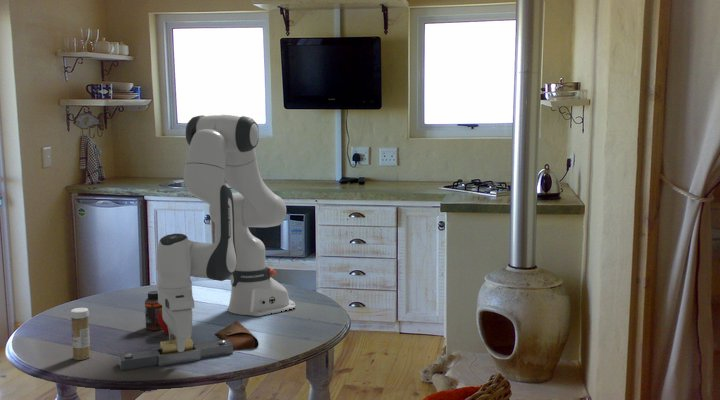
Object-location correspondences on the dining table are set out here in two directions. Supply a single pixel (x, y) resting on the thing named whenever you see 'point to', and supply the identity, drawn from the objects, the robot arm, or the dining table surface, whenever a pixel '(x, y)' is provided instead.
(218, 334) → the sunglasses case
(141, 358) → the grey slotted link bar
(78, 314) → the sprinkles bottle
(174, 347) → the khaki rectangular block
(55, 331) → the dining table surface
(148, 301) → the supplement bottle
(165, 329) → the strawberry
